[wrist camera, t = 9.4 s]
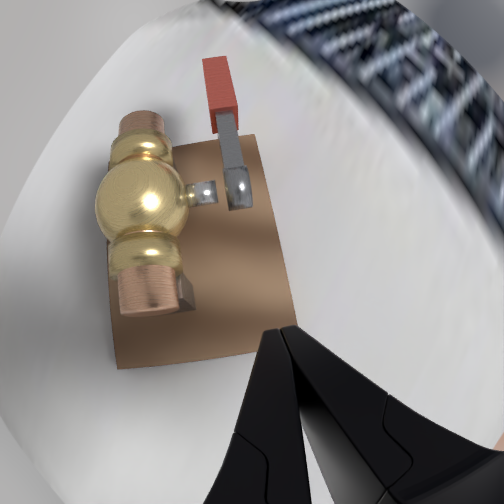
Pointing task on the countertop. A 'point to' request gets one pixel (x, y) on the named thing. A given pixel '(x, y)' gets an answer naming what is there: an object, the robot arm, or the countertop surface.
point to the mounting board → (214, 273)
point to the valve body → (147, 218)
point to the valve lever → (227, 131)
